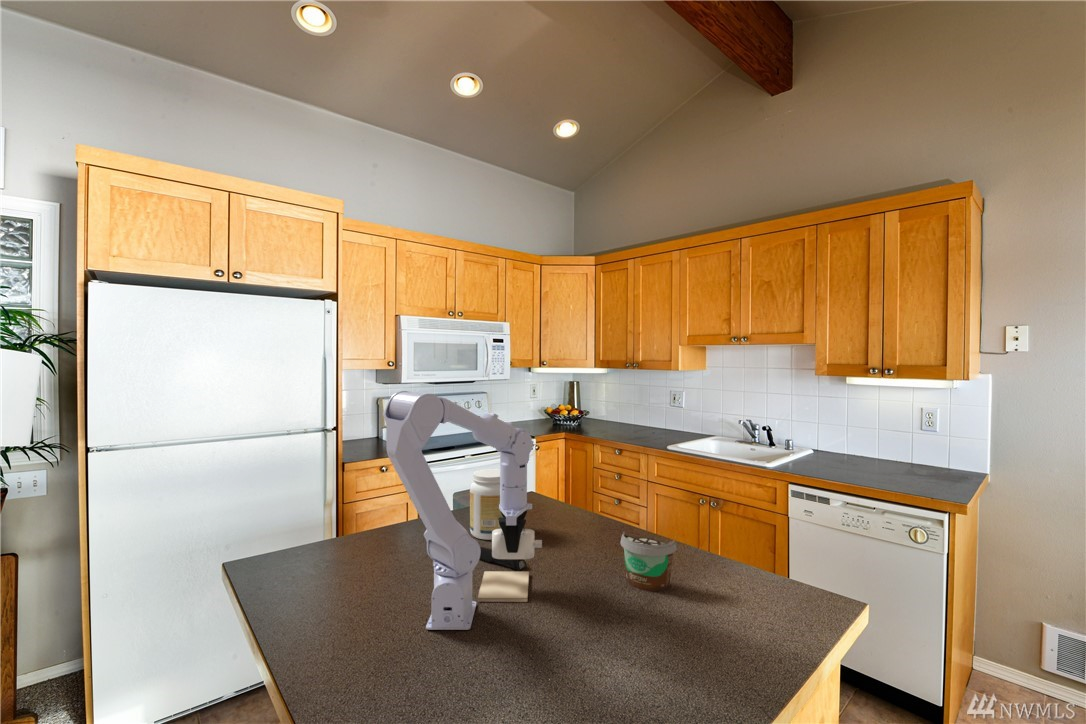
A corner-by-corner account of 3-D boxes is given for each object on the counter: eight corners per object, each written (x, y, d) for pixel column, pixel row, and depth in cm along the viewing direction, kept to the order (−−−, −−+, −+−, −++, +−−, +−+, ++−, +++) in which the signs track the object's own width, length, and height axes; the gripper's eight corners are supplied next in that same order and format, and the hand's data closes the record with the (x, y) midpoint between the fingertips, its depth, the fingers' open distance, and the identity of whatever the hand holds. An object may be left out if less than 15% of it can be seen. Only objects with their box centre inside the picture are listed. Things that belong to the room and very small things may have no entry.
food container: (612, 585, 106) (612, 539, 105) (621, 574, 111) (621, 530, 111) (669, 599, 100) (670, 550, 100) (676, 586, 105) (676, 540, 105)
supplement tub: (522, 530, 138) (522, 471, 138) (495, 544, 128) (496, 480, 128) (488, 522, 145) (488, 465, 145) (460, 535, 134) (460, 474, 134)
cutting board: (527, 601, 98) (527, 597, 98) (477, 601, 98) (477, 597, 98) (528, 575, 110) (528, 571, 110) (484, 574, 110) (484, 571, 110)
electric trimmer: (477, 554, 123) (477, 541, 123) (528, 568, 115) (528, 554, 115) (467, 559, 120) (467, 546, 120) (518, 574, 112) (518, 560, 111)
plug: (541, 551, 106) (541, 528, 106) (541, 559, 102) (541, 535, 102) (492, 551, 106) (493, 528, 106) (490, 559, 102) (491, 535, 102)
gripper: (531, 493, 97) (531, 562, 97) (533, 475, 111) (532, 535, 111) (495, 493, 97) (495, 561, 97) (502, 475, 111) (501, 535, 111)
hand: (513, 547), depth 104 cm, fingers closed on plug, 4 cm apart
